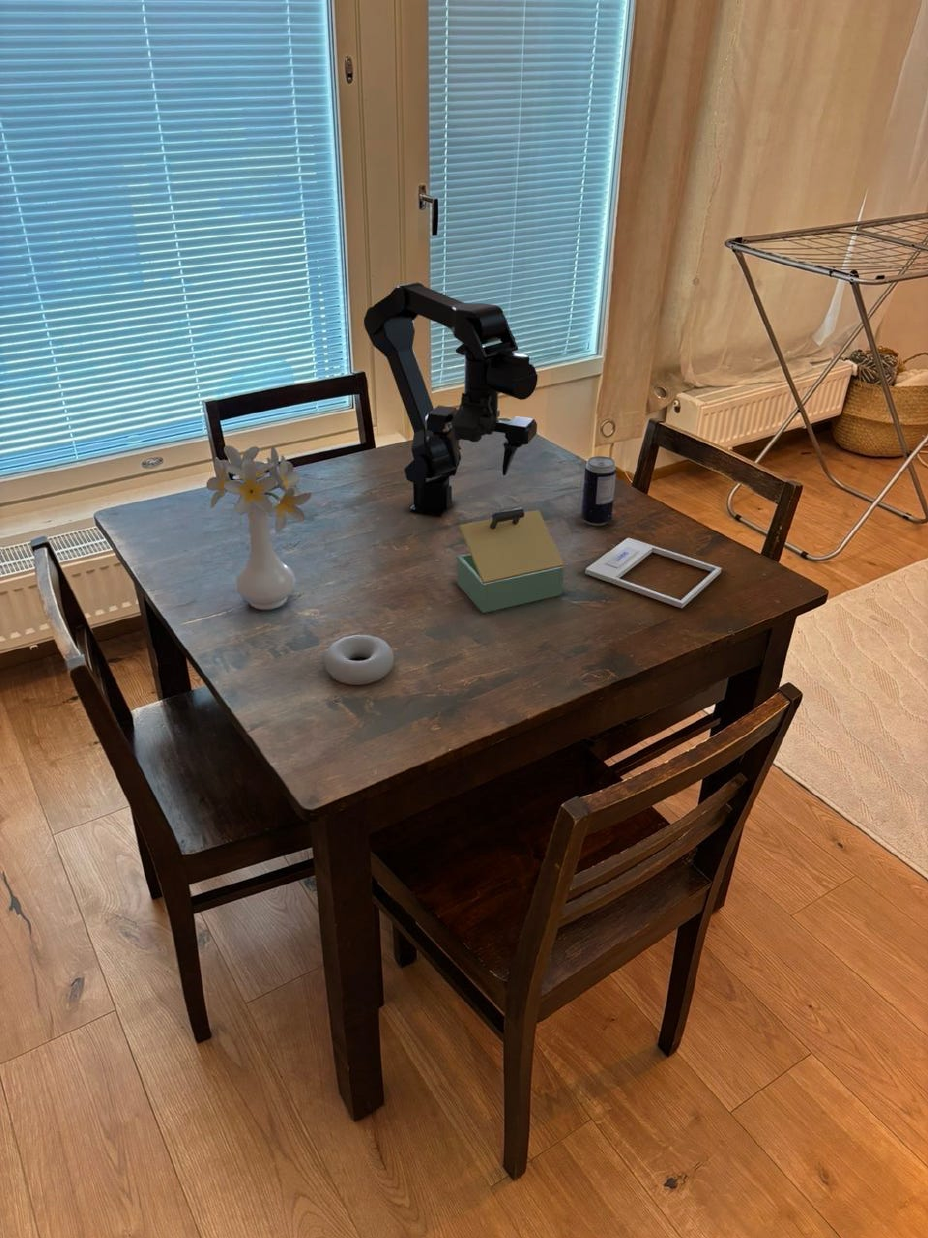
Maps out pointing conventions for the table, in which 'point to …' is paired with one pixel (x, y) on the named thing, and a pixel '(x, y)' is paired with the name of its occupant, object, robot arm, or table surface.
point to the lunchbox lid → (511, 545)
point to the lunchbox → (507, 586)
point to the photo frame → (631, 555)
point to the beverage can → (598, 490)
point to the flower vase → (261, 519)
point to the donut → (359, 671)
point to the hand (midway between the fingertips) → (480, 470)
